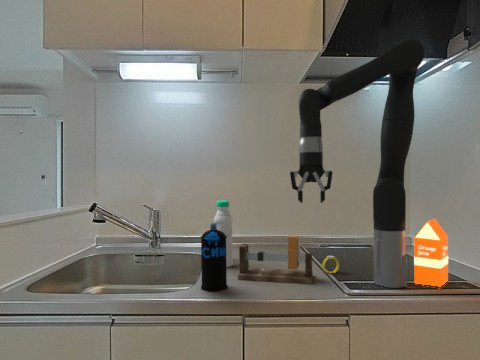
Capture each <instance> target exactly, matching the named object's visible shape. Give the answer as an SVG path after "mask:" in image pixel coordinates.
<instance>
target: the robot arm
mask: <svg viewBox="0 0 480 360" xmlns="http://www.w3.org/2000/svg"><path fill="white" fill-rule="evenodd" d="M425 49H426V48H425V46H424V44H423V43H422V42H420V41H419V40H417V39H413V38H408V39H403V40H402V41H400V42H398V43H397V44H396V45H394V46H392V47H391V48H390V49H388V50H387V51H385V52H383V53H382V54H381V55H379V56H377V57H375V58H374V59H372V60H370V61H368V62H367V63H364V64H363V65H360V66H357V67H356V68H354V69H351V70H350V71H347V72H345V73H342V74H341V75H338V76H337V77H334V78H332V79H330V80H329V81H327V82H326V83H325V84H324V85H323V86H321V87H319V88H317V89H314V88H307V89H304V90H302V92H301V93H300V95H299V97H298V111H299V120H300V121H299V122H300V123H299V124H300V125H299V146H298V147H299V148H298V152H299V168H298V170H296V171H295V170H294V171H293V170H292V171H290V172H289V175H290V182H291V183H290V184H291V188H292V189H293V190H295V191H297V201H299V203H300V204H302V203H304V199H303V198H304V197H303V195H304V193H303V192H304V191H303V188H304V186H305V184H306V183H310V182H311V183H317V185H318V187H319V188H320V203H321V204H322V203H323V202H325V200H326V191H328V190H330V189H331V187H332V186H331V185H332V179H333V171H332V170H324V167H323V166H324V164H323V163H324V162H323V161H324V158H323V157H324V152H323V150H324V148H323V139H322V138H323V134H322V131H323V130H322V122H321V111H322V110H323V109H325V108H327V107H328V106H330V105H332V104H333V103H336V102H338V101H340V100H342V99H345V98H347V97H350V96H351V95H353V94H355V93H357V92H358V93H359V92H360V91H361V90H362V89H364V88H366V87H368V86H369V85H371V84H373V83H374V82H376V81H379V80H380V79H381V78H385V77H387V76H389V77H388V80H389V81H388V90H387V91H388V92H387V96H386V100H385V104H384V109H383V115H382V120H381V129H380V164H379V170H378V176H377V180H376V183H375V186H374V187H373V193H372V211H373V212H372V213H373V214H372V215H373V216H372V219H373V284H375V285H377V286H379V285H380V286H379V287H383V286H384V288H389V289H390V288H391V289H396V288H397V289H398V288H399V289H400V288H408V268H407V267H408V256H407V255H406V214H407V213H406V208H407V206H406V204H407V203H406V201H407V200H406V199H407V197H406V194H407V193H406V189H405V168H406V167H405V166H406V161H407V158H408V154H409V151H410V148H411V147H410V146H411V144H412V140H413V139H412V138H413V132H414V126H415V100H414V87H415V81H416V76H417V72H418V69H419V67H420V65H421V64H422V62H423V60H424V58H425V55H426V50H425ZM324 174H325V177H326V178H327V180H326V181H327V182H326V185H325V186H324V184H323V182H322V180H321V178H322V177H323V175H324ZM298 175H299V176H300V178H301V181H300V183H299V186H298V185H297V182H296V179H297V176H298Z"/></svg>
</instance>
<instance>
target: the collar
mask: <svg viewBox="0 0 480 360" xmlns="http://www.w3.org/2000/svg"><path fill="white" fill-rule="evenodd" d="M287 244H288V245H287V247H288V248H287V253H288V262H287V270H299V266H300V262H298V253H299V254H300V246H299V235H296V234H295V235H291V234H290V235H288V237H287Z"/></svg>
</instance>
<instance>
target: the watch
mask: <svg viewBox="0 0 480 360" xmlns="http://www.w3.org/2000/svg"><path fill="white" fill-rule="evenodd" d="M329 260H334V261H335V263H336V267H335V269H334V270H332V271H327V270H326V263H327V261H329ZM321 265H322V266H321V267H322V270H323V272H324V273H326V274H328V273H330V274H336V273H337V272H338V271H339V269H340V262H339V259H337V258H336V257H335V256H334V255H327V256H326V258H324V259H323V261H322V264H321Z"/></svg>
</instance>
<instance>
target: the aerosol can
mask: <svg viewBox="0 0 480 360" xmlns="http://www.w3.org/2000/svg"><path fill="white" fill-rule="evenodd" d="M209 223H210V228H209V229H208V230H206V231H205V232H203V233H202V235H201V236H200V237H199V238H200V239H201V241H200V243H201V247H200V248H201V249H200V251H201V252H200V253H201V256H200V257H201V285H200V288H201V290H202V291H207V292H219V291H224V290H226V289H227V288H228V285H227V283H228V282H227V279H228V278H227V276H228V275H227V267H226V238H227V236H226V235H225V234H224V233H223V232H221V231H219V230H217V223H214V222H209Z"/></svg>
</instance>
